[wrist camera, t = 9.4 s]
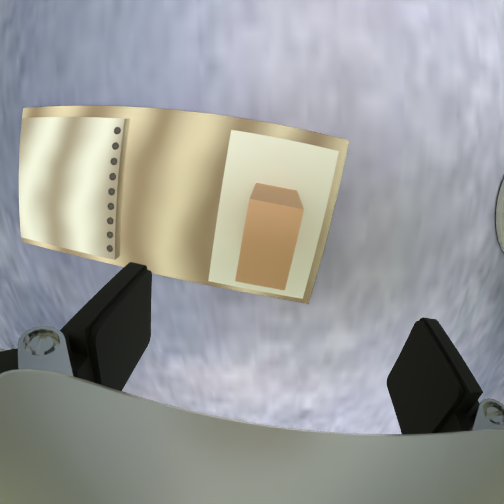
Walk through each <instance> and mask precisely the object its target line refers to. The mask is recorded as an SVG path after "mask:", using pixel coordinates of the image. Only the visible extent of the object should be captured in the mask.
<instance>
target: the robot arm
mask: <svg viewBox="0 0 504 504" xmlns="http://www.w3.org/2000/svg"><path fill="white" fill-rule="evenodd" d="M496 231H497V236H498V241H499V243H500V246H501V249H502V251H503V252H504V180H503V182H502V185H501V188H500V192H499V196H498V201H497V207H496ZM151 285H152V272H151V271H150V270H148V269H147V266H146V265H142V264H138V263H134V262H130V263H128V264H127V265H126V266H125V267H124V268H123V269H122V270H121V271H120V272H119V273H118V274H117V275H115V276H114V277H113V278H112V279H111V280H110V281H109V282H108V283H107V284H106V285H105V286H104V287H103V288H102V289H101V290H100V291H99V292H98V293H97V294H96V295H95V296H94V297H93V298H92V299H91V300H90V301H89V302H88V303H87V304H86V305H85V306H84V307H83V308H82V309H81V310H80V311H79V312H78V313H77V314H76V315H75V316H74V317H73V318H72V319H71V320H70V321H69V322H68V323H67V324H66V325H65V326H64V327H63V328H62V329H61V330H58V329H56V328H54V327H50V326H38V327H33V328H31V329H29V330H27V331H25V332H24V333H23V334H22V335H21V337H20V338H19V340H18V349H12V350H6V351H0V504H504V405H503V404H502V403H500V402H499V401H497V400H494V399H489V398H488V399H484V400H482V401H481V402H480V404H479V402H478V398H479V397H480V396H481V394H482V393H483V391H482V390H481V388H480V386H479V384H478V383H477V381H476V379H475V378H474V376H473V375H472V373H471V371H470V370H469V368H468V366H467V365H466V363H465V362H464V360H463V358H462V357H461V355H460V354H459V352H458V351H457V349H456V348H455V346H454V345H453V343H452V341H451V340H450V338H449V337H448V335H447V334H446V333H445V331H444V330H443V328H442V327H441V325H440V324H439V322H438V321H437V320H436V319H429V318H421V319H420V320H419V321H416V323H415V324H414V326H413V328H412V330H411V332H410V335H409V337H408V339H407V341H406V343H405V345H404V347H403V349H402V351H401V353H400V355H399V357H398V359H397V361H396V363H395V364H394V366H393V368H392V370H391V372H390V374H389V376H388V378H387V387H388V390H389V394H390V397H391V400H392V403H393V406H394V409H395V412H396V416H397V419H398V422H399V426H400V429H401V432H402V434H354V433H336V432H322V431H311V430H301V429H292V428H284V427H277V426H270V425H263V424H257V423H250V422H245V421H239V420H233V419H228V418H223V417H218V416H213V415H208V414H204V413H199V412H195V411H191V410H187V409H183V408H179V407H175V406H171V405H167V404H163V403H160V402H156V401H153V400H149V399H146V398H142V397H139V396H136V395H132V394H129V393H126V392H122V389H123V387H124V386H125V384H126V382H127V380H128V379H129V377H130V375H131V373H132V372H133V370H134V368H135V366H136V365H137V363H138V361H139V360H140V358H141V356H142V354H143V353H144V351H145V349H146V348H147V346H148V344H149V341H150V337H151Z"/></svg>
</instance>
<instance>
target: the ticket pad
mask: <svg viewBox="0 0 504 504" xmlns="http://www.w3.org/2000/svg"><path fill="white" fill-rule="evenodd" d="M231 130H236V131H242V132H248V133H254V134H260V135H266V136H271V137H276V138H281V139H287V140H291V141H296V142H301V143H306V144H310V145H315V146H319V147H324V148H328V149H332V150H336V151H339V153H338V158H337V163H336V167H335V172H334V177H333V181H332V185H331V190H330V194H329V198H328V203H327V207H326V211H325V215H324V219H323V223H322V228H321V232H320V236H319V240H318V243H317V247H316V251H315V255H314V259H313V263H312V266H311V270H310V274H309V278H308V281H307V285H306V289H305V292H304V296H303V299H300V298H295V297H289V296H284V295H278V294H273V293H267V292H262V291H256V290H251V289H246V288H241V287H235V286H230V285H225V284H220V283H215V282H210V281H208V279H209V272H210V264H211V257H212V250H213V243H214V236H215V229H216V222H217V215H218V208H219V202H220V195H221V189H222V182H223V176H224V170H225V164H226V158H227V152H228V146H229V140H230V134H231ZM348 145H349V140H345V139H341V138H337V137H333V136H329V135H325V134H321V133H316V132H312V131H307V130H303V129H298V128H293V127H288V126H283V125H278V124H273V123H267V122H261V121H256V120H250V119H243V118H237V117H230V116H223V115H216V114H208V113H199V112H190V111H180V110H169V109H157V108H142V107H121V106H51V107H32V108H23V117H22V126H21V139H20V156H19V211H20V229H21V241H22V242H26V243H29V244H33V245H37V246H41V247H45V248H48V249H52V250H56V251H60V252H64V253H68V254H72V255H76V256H80V257H84V258H88V259H93V260H97V261H101V262H105V263H109V264H114V265H118V266H122V267H125V266H126V265H127V264H128V263H130V262H134V263H138V264H142V265H146V266H147V269H148V270H150V271H151V272H152V273H153V274H158V275H163V276H167V277H172V278H177V279H181V280H186V281H191V282H196V283H201V284H206V285H211V286H216V287H221V288H226V289H231V290H236V291H241V292H246V293H252V294H257V295H262V296H268V297H273V298H279V299H284V300H290V301H296V302H301V303H307V304H309V300H310V297H311V293H312V290H313V286H314V283H315V279H316V276H317V272H318V269H319V265H320V261H321V258H322V254H323V250H324V246H325V243H326V239H327V235H328V231H329V227H330V223H331V219H332V215H333V211H334V207H335V203H336V199H337V194H338V190H339V186H340V181H341V177H342V173H343V168H344V163H345V159H346V154H347V149H348Z"/></svg>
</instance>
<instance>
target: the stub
mask: <svg viewBox="0 0 504 504" xmlns="http://www.w3.org/2000/svg"><path fill="white" fill-rule="evenodd" d="M338 153H339V151H336V150H332V149H328V148H324V147H319V146H315V145H310V144H306V143H301V142H296V141H291V140H287V139H281V138H276V137H271V136H266V135H260V134H254V133H248V132H242V131H236V130H231V134H230V140H229V146H228V152H227V158H226V164H225V170H224V176H223V182H222V189H221V195H220V202H219V208H218V215H217V222H216V229H215V236H214V243H213V250H212V257H211V264H210V272H209V279H208V281H210V282H215V283H220V284H225V285H230V286H235V287H241V288H246V289H251V290H256V291H262V292H267V293H273V294H278V295H284V296H289V297H295V298H300V299H303V296H304V292H305V289H306V285H307V281H308V278H309V274H310V270H311V266H312V263H313V259H314V255H315V251H316V247H317V243H318V240H319V236H320V232H321V228H322V223H323V219H324V215H325V211H326V207H327V203H328V198H329V194H330V190H331V185H332V181H333V177H334V172H335V167H336V163H337V158H338Z"/></svg>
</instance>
